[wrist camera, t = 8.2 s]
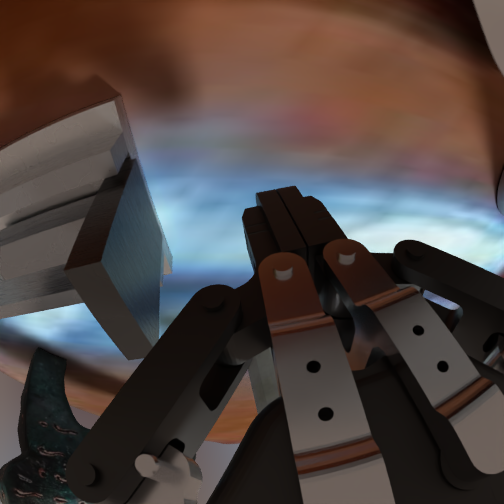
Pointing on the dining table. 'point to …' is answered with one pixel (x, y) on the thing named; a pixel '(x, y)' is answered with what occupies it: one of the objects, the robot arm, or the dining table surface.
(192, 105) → the dining table surface
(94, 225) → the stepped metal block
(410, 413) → the robot arm
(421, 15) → the dining table surface
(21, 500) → the green animal figurine
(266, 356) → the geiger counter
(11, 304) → the grey open box
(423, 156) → the dining table surface
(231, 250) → the dining table surface
